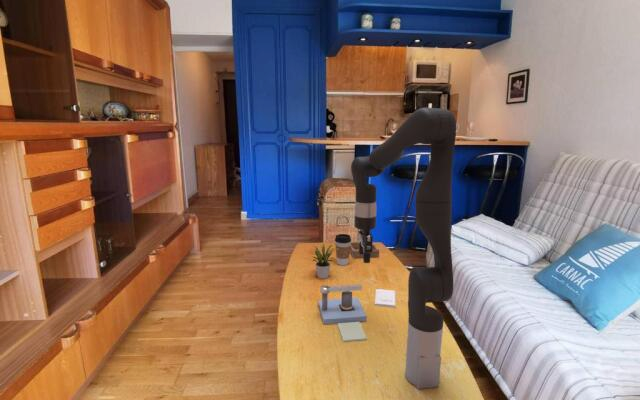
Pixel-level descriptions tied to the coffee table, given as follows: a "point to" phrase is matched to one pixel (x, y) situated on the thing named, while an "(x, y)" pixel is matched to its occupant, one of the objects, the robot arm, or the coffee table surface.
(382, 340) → the coffee table surface
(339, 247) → the coffee cup
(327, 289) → the clip
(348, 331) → the pad
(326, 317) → the plate
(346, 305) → the plug
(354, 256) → the coaster tray
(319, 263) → the house plant
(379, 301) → the external hard drive
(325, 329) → the coffee table surface
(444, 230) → the robot arm
